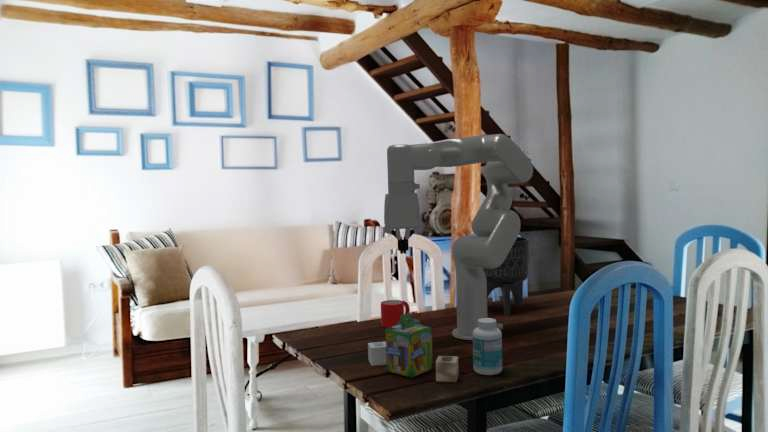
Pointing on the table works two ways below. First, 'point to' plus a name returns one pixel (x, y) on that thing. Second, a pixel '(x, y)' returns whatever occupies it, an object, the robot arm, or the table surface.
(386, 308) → the mug
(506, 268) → the planter
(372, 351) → the marked block white
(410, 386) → the table surface
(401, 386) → the table surface
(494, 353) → the pill bottle
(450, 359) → the marked block beech
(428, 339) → the chalk box
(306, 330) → the table surface
